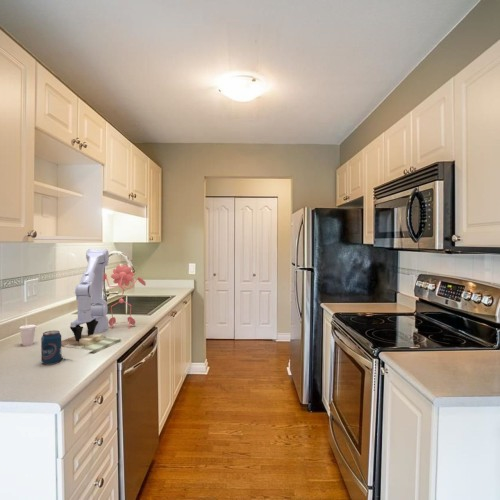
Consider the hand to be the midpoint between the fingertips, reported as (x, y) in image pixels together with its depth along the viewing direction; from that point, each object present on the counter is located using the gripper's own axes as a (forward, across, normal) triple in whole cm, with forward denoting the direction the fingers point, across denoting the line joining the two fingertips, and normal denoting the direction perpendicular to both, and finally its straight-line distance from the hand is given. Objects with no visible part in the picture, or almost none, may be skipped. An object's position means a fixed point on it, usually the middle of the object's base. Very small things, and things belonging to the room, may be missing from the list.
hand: (84, 338), depth 157 cm
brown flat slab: (+3, 0, +1) cm, 3 cm away
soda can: (+3, +22, +4) cm, 23 cm away
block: (+1, 0, +4) cm, 4 cm away
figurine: (+3, -35, -5) cm, 36 cm away
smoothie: (+3, +11, -21) cm, 24 cm away
